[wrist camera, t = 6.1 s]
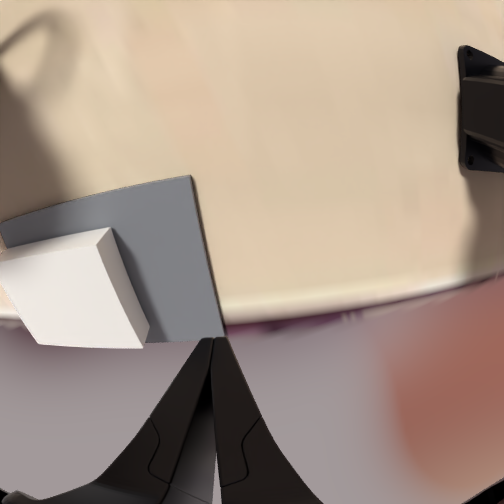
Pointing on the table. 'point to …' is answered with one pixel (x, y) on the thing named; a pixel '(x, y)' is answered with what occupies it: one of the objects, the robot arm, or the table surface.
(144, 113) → the table surface
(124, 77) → the table surface
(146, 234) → the mat
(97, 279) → the tile
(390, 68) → the table surface
